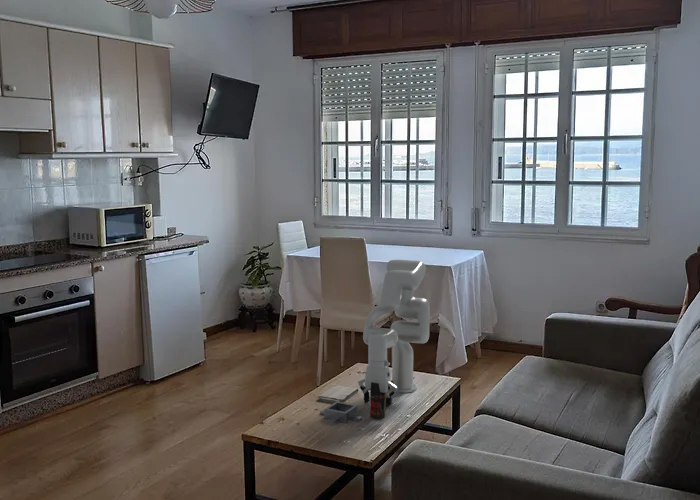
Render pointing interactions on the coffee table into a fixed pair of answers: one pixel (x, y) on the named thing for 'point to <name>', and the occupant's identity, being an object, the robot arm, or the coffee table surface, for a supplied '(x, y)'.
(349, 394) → the washcloth
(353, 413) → the tabbed square frame
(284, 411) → the coffee table surface
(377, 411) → the deodorant
